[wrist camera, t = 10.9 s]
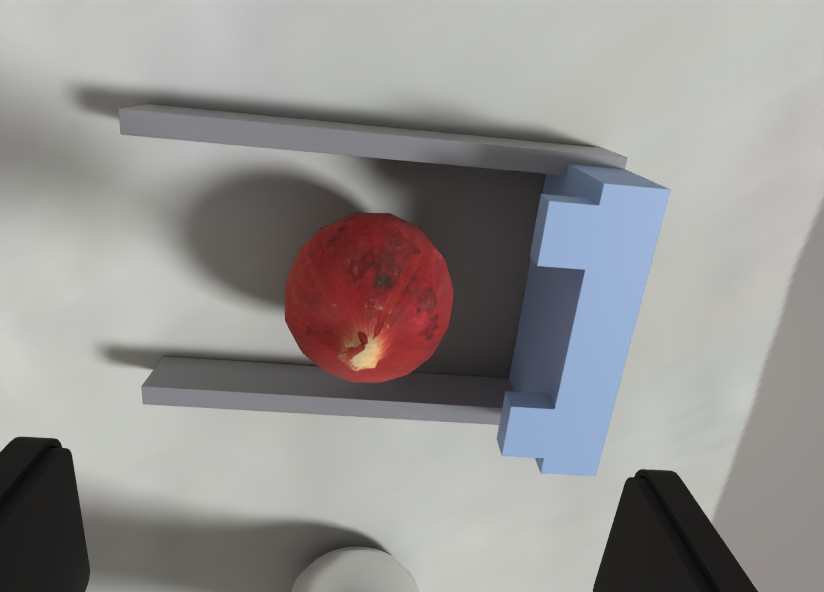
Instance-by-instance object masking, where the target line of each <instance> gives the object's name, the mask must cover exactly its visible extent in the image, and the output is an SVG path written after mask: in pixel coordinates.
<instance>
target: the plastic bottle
mask: <svg viewBox="0 0 824 592" xmlns="http://www.w3.org/2000/svg"><path fill="white" fill-rule="evenodd" d="M291 592H419V589H418V586H417V584H416V581H415V579H414V578H413V576H412V575H411V573H410V572H409V571H408V570H407V569H406V568H405V567H404V566H403V565H402V564H401V563H400V562H398V561H397V560H396V559H395V558H394V557H392V556H390V555H389V554H387V553H385V552H382V551H380V550H377V549H373V548H368V547H345V548H340V549H336V550H333V551H330V552H328V553H326V554H324V555H322V556H321V557H319V558H317V559H316V560H315V561H314V562H312V563H311V564H310V565H309V566H308V567H307V568H306V569H304V570H303V571H302V572H301V574H300V575H299V576H298V578H297V579H296V581H295V583H294V586H293V588H292V591H291Z"/></svg>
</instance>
